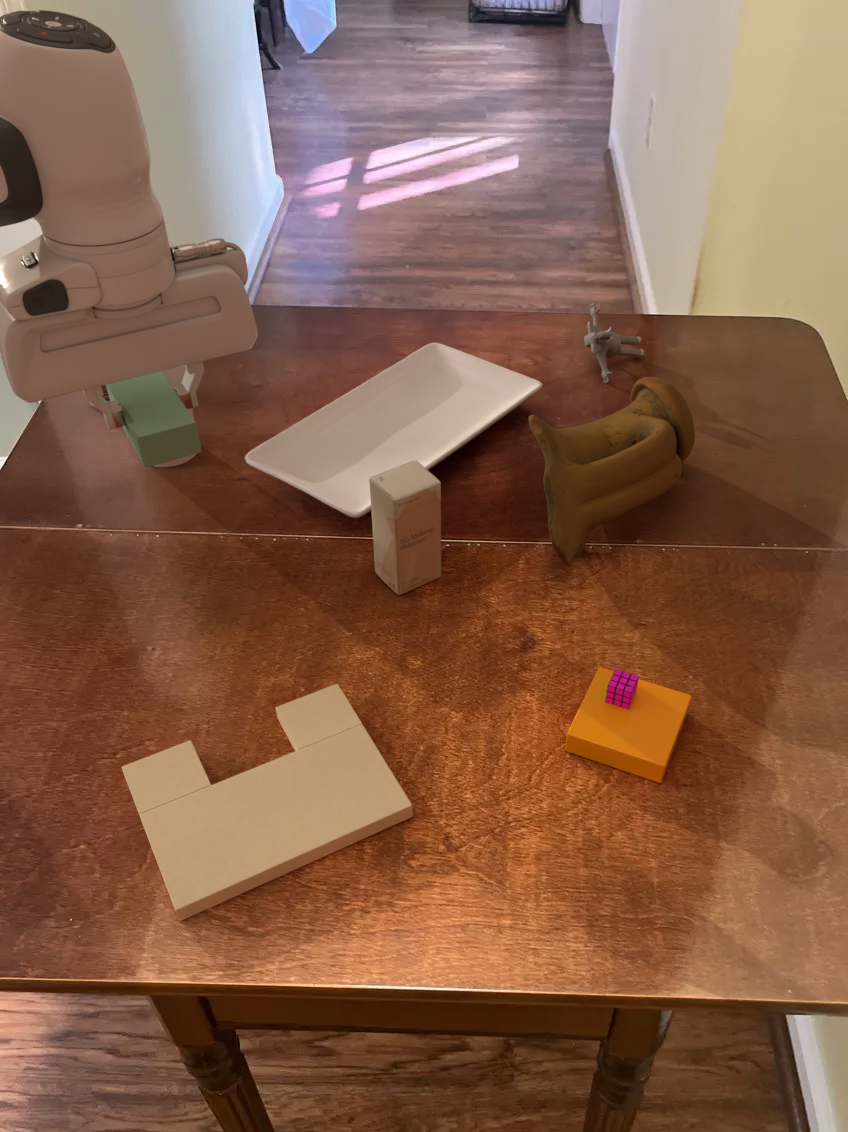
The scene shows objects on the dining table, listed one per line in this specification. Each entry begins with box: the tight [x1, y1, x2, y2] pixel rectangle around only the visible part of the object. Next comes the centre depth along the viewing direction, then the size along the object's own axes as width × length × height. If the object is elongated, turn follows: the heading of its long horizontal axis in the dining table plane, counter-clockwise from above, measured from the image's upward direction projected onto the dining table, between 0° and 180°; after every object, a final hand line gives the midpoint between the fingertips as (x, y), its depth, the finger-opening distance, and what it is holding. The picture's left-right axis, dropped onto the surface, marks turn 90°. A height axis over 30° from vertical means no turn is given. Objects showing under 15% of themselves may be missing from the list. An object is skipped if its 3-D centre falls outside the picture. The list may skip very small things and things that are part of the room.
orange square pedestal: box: [564, 666, 692, 784], centre depth 79 cm, size 8×8×4 cm
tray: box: [244, 342, 544, 519], centre depth 108 cm, size 17×31×4 cm, turn 142°
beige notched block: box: [121, 683, 414, 922], centre depth 75 cm, size 18×14×2 cm
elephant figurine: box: [583, 302, 645, 384], centre depth 120 cm, size 10×6×9 cm
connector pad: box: [106, 371, 203, 469], centre depth 86 cm, size 10×5×3 cm, turn 30°
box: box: [369, 460, 442, 596], centre depth 90 cm, size 5×4×11 cm
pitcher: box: [528, 376, 696, 567], centre depth 97 cm, size 18×13×22 cm
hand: (152, 415), depth 85 cm, fingers closed on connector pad, 5 cm apart
